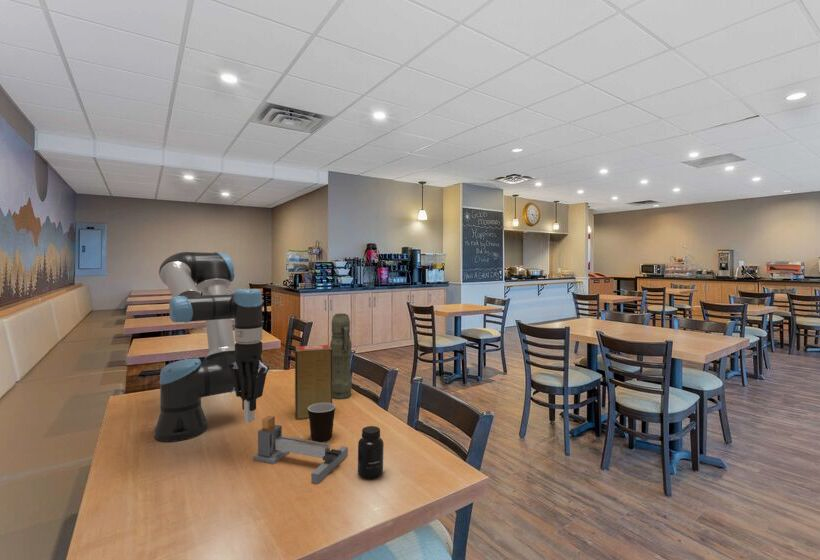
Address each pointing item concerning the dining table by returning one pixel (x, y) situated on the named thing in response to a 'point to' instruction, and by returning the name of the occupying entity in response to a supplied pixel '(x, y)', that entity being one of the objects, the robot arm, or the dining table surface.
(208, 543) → the dining table surface
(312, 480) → the stand
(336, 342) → the thermos
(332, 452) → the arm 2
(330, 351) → the food packaging
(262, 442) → the collar
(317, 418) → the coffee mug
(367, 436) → the supplement bottle
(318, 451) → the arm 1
